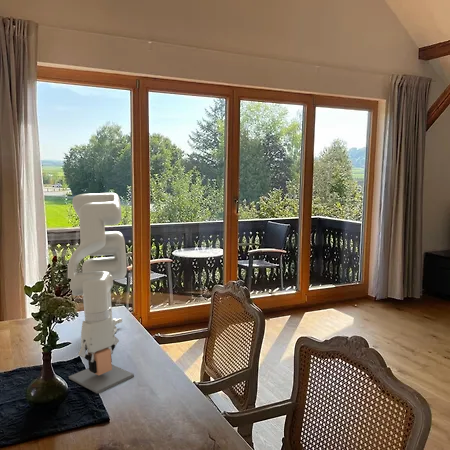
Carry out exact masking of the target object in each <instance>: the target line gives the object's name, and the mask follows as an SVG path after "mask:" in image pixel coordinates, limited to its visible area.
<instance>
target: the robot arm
mask: <svg viewBox="0 0 450 450" xmlns="http://www.w3.org/2000/svg"><path fill="white" fill-rule="evenodd" d="M120 199H121V198H120V196H119V195H118V194H117V193H115V192H100V193H98V192H97V193H95V192H93V193H81V194H77V195H74V196H73V197H72V207H73V209H74V211H75V213H76V215H77V216H78V219H79V220H78V221H79V239H80V240H79V242H80V243H79V245H78V246H77V248H76V249H75V250H74V251H73V252H72V254H71V255H70V258H69V259H68V260H69V261H68V264H67V279H68V278H70V279H71V282H70V289H71V290H72V294H71V295H72V296H76V297H77V296H82V299H83V310H84V320H83V321H82V323H81V324H82V325H81V331H80V333H81V334H80V345H81V348H80V350H79V352H78V354H77V355H78V357H81V358H84V359H85V360H86V361H88V363H87V364H88V368H89V370H90V371H91V372H93V373H97V368H96V361H94V360H95V354H96V352H97V351H100V350H102V349H105V348H108V349H111V363H113V360H112V356H113V354H114V350H115V348H116V346H117V345H118V344H119V342H120V340H119V339H118V337H116V336H115V333H117V330H118V328H117V324H120V323H122V322H123V318H121V317H119V318H113V312H112V311H113V310H112V309H113V307H112V296H111V294H112V293H111V289H112V288H113V286H114V280H121V279H124V278H125V277H126V276H127V271H128V270H127V254H126V241H125V237H124V235H123V233H122V232H121V231H117V230H113V231H106V227H105V226H110V225H111V226H113V225H115V226H116V225H119V224H120V222H121V221H122V205H121V200H120ZM88 256H91V257H93V258H88V259H86V260H85V261H84V262H83V264H82V266H81V267H82V269H81V270H82V271H81V272H77V268H78V265H79V263H80V262H81V261H82V260H83V259H84V258H86V257H88ZM99 256H100V257H99ZM101 256H103V257H101ZM106 256H107V257H106ZM86 351H87V352H86Z"/></svg>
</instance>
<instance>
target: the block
mask: <svg viewBox="0 0 450 450" xmlns="http://www.w3.org/2000/svg"><path fill="white" fill-rule="evenodd" d="M111 357H112V355H111V349H108V348H105V349H102V350H100V351H97V352H96V354H95V360H94V361H96V368H97V373H95V374H97V375H101V374H103V373H106V372H108V371H110V370H112V365H113V364H112V363H113V362H112V363H111Z"/></svg>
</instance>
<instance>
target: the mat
mask: <svg viewBox="0 0 450 450" xmlns="http://www.w3.org/2000/svg"><path fill="white" fill-rule="evenodd" d="M134 375H135V374H134V373H133V372H130V371H128V370H126V369H124V368H122V367H119V366H117V365H114V364H112V370H110V371H108V372H106V373H103V374H101V375H97V374H95V373H93V372H91V371H90V370H89V367H88V368H86V369H84V370H81V371H78V372H75V373H74V374H73V373H72V374H71V375H68V379H69V380H71V381H73V382H74V383H76V384H78V385H80V386H82V387H84V388H86V389H88V390H90V391H92V392H93V393H95V394H99V393H101V392H104V391H106V390H108V389H110V388H112V387H114V386H116V385H118V384H121V383H123V382H125V381H127V380H129V379H131V378H134V377H135V376H134Z"/></svg>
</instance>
